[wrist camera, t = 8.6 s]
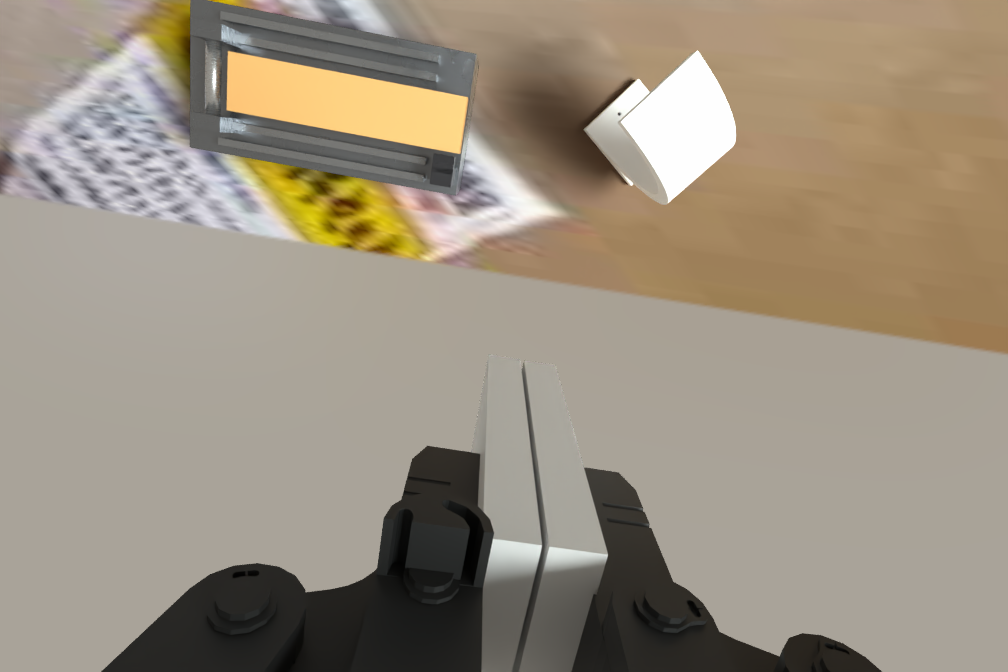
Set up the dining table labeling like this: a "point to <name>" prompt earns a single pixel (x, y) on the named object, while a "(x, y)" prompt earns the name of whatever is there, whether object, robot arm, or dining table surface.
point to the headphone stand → (666, 130)
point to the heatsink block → (328, 50)
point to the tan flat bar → (345, 102)
